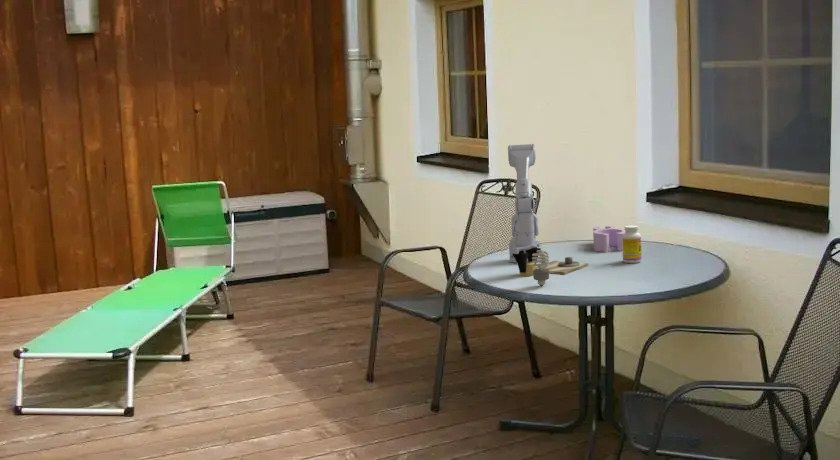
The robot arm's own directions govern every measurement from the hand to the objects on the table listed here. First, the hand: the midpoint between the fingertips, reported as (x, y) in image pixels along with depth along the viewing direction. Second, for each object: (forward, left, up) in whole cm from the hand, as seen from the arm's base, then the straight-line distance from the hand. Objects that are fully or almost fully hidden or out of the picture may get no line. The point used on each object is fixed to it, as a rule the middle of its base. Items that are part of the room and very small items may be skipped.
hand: (527, 270), depth 336 cm
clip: (+2, +54, -2) cm, 54 cm away
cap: (0, 0, -1) cm, 1 cm away
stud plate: (+5, +13, -1) cm, 14 cm away
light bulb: (+14, -13, -2) cm, 19 cm away
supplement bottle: (+23, +33, -2) cm, 40 cm away
